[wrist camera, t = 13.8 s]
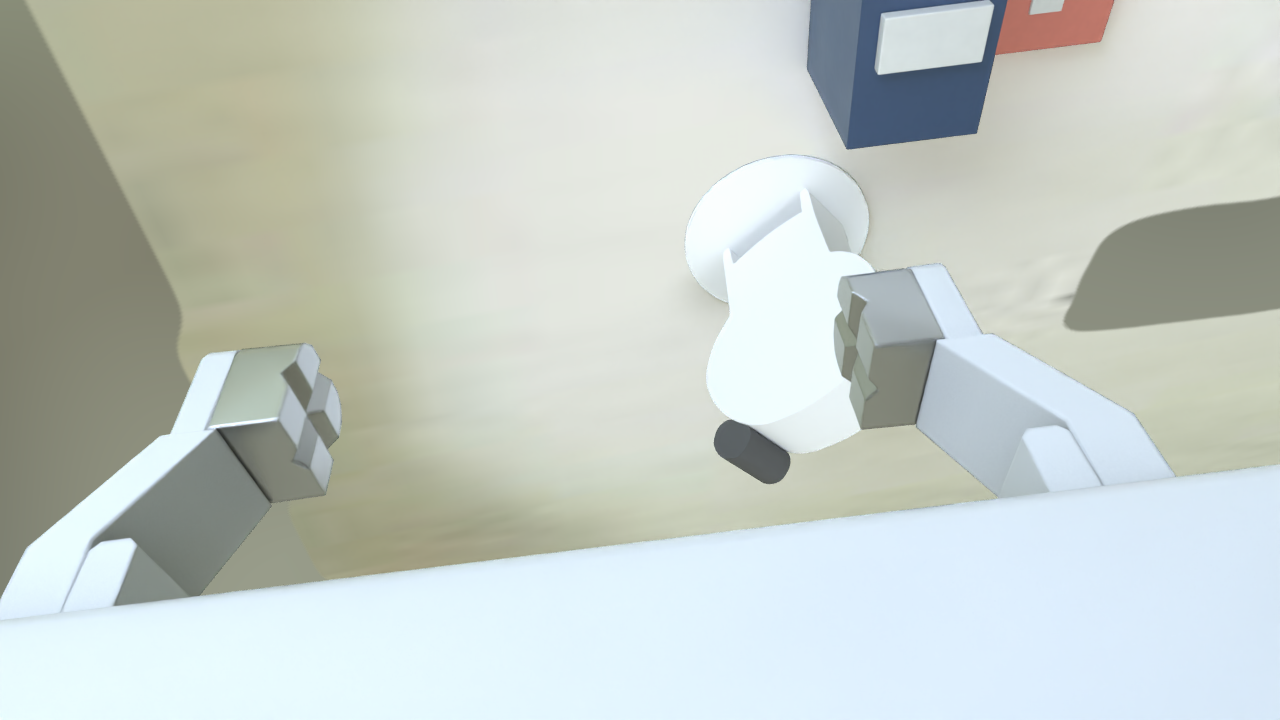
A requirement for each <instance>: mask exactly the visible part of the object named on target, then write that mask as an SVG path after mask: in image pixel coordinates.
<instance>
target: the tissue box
mask: <svg viewBox="0 0 1280 720" xmlns="http://www.w3.org/2000/svg"><path fill="white" fill-rule="evenodd" d="M1007 1H1008V0H811V12H810V28H809V44H808V61H807V70H808V72H809V74H810V76H811V78H812V80H813V82H814V84H815V86H816V88H817V90H818V92H819V94H820V96H821V98H822V100H823V102H824V104H825V106H826V108H827V110H828V112H829V114H830V116H831V118H832V120H833V122H834V125H835V127H836V129H837V131H838V133H839V135H840V137H841V139H842V141H843V143H844V145H845V147H846V149H856V148H864V147H872V146H880V145H888V144H896V143H904V142H912V141H920V140H928V139H936V138H944V137H952V136H960V135H968V134H976V133H977V130H978V126H979V122H980V117H981V113H982V109H983V105H984V100H985V96H986V92H987V87H988V83H989V79H990V74H991V70H992V66H993V61H994V57H995V53H996V48H997V44H998V40H999V35H1000V31H1001V27H1002V23H1003V18H1004V14H1005V10H1006V5H1007Z"/></svg>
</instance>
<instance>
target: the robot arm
mask: <svg viewBox="0 0 1280 720" xmlns="http://www.w3.org/2000/svg"><path fill="white" fill-rule="evenodd" d="M837 298H838V300H839V303H840V306H841V309H842V311H841V312H840V313H839V314H838V315H837V316H836V317H835V319H834V332H833V336H834V350H835V355H836V359H837V364H838V367H839V370H840V373H841V376H843V377H844V378H846V379H847V380H848V381H850V382H851V387H850V394H849V398H850V401H851V404H852V406H853V409H854V412H855V415H856V417H857V420H858V423H859V426H860V428H861V430H863V429H873V428H883V427H894V426H904V425H914V424H916V428H918V429H919V430H920V431H921V432H922V433H923V434H925V435H926V436H927V437H928V438H929V439H931V440H932V441H933V442H934V443H935V444H936V445H938V446H939V447H940V448H941V449H942V450H943V451H945V452H946V453H947V454H948V455H949V456H950V457H952V458H953V459H954V460H955V461H956V462H957V463H959V464H960V465H961V466H962V467H963V468H964V469H966V470H967V471H968V472H969V473H970V474H972V475H973V476H974V477H975V478H976V479H977V480H979V481H980V482H981V483H982V484H983V485H984V486H986V487H987V488H988V489H989V490H990V491H991V492H993V493H994V494H995V495H996V496H997V497H998V498H997V499H990V500H982V501H974V502H966V503H957V504H949V505H941V506H933V507H925V508H916V509H908V510H900V511H892V512H883V513H875V514H867V515H859V516H850V517H842V518H834V519H826V520H817V521H809V522H801V523H793V524H785V525H776V526H768V527H760V528H752V529H744V530H735V531H727V532H719V533H711V534H702V535H694V536H686V537H678V538H670V539H661V540H653V541H645V542H637V543H629V544H620V545H612V546H604V547H596V548H588V549H579V550H571V551H563V552H555V553H547V554H538V555H530V556H522V557H514V558H505V559H497V560H489V561H481V562H473V563H464V564H456V565H448V566H440V567H432V568H423V569H415V570H407V571H399V572H391V573H382V574H374V575H366V576H358V577H350V578H341V579H333V580H325V581H318V582H309V583H300V584H292V585H284V586H276V587H268V588H259V589H252V590H243V591H235V592H227V593H219V594H211V595H202V596H200V594H201V593H202V592H203V591H204V590H205V588H206V587H207V586H208V585H209V583H210V582H211V581H212V580H213V578H214V577H215V576H216V575H217V574H218V572H219V571H220V570H221V569H222V567H223V566H224V565H225V564H226V562H227V561H228V560H229V559H230V557H231V556H232V555H233V554H234V552H235V551H236V550H237V549H238V548H239V546H240V545H241V544H242V543H243V541H244V540H245V539H246V537H247V536H248V535H249V534H250V533H251V532H252V530H253V529H254V528H255V527H256V525H257V524H258V523H259V521H260V520H261V519H262V518H263V517H264V515H265V514H266V513H267V512H268V511H269V509H270V508H271V507H272V505H271V503H276V502H283V501H290V500H297V499H304V498H310V497H317V496H324V495H326V492H327V488H328V483H329V479H330V475H331V470H332V466H333V462H334V460H333V458H332V457H331V455H330V453H329V451H328V450H327V449H328V448H329V447H330V446H331V445H332V444H333V443H334V442H335V441H336V440H337V439H338V438H339V435H340V429H341V424H342V414H341V403H340V399H339V396H338V392H337V390H336V388H335V386H334V384H333V382H332V380H331V379H329V378H327V377H325V376H324V375H322V374H320V373H319V372H318V370H319V366H320V362H321V359H320V358H319V356H318V354H317V353H316V351H315V349H314V348H313V346H312V345H310V344H307V343H299V344H289V345H279V346H269V347H259V348H249V349H242V350H236V351H226V352H215V353H209V354H208V355H206V356H205V357H204V358H203V359H202V360H201V362H200V364H199V367H198V369H197V372H196V374H195V376H194V379H193V381H192V384H191V386H190V388H189V391H188V393H187V396H186V398H185V401H184V403H183V405H182V408H181V410H180V412H179V415H178V417H177V420H176V422H175V424H174V427H173V429H172V431H171V434H170V435H163V436H160V437H158V438H157V439H156V440H155V441H154V442H152V443H151V444H150V445H149V446H148V447H147V448H145V449H144V450H143V451H142V452H141V453H139V454H138V455H137V456H136V457H135V458H133V459H132V460H131V461H130V462H129V463H127V464H126V465H125V466H124V467H123V468H122V469H120V470H119V471H118V472H117V473H116V474H114V475H113V476H112V477H111V478H110V479H108V481H106V482H105V483H104V484H102V485H101V486H100V487H99V488H98V489H96V490H95V491H94V492H93V493H92V494H90V495H89V496H88V497H87V498H86V499H85V500H83V501H82V502H81V503H80V504H79V505H77V506H76V507H75V508H74V509H73V510H71V511H70V512H69V513H68V514H67V515H65V516H64V517H63V518H62V519H61V520H60V521H58V522H57V523H56V524H55V525H54V526H52V527H51V528H50V529H49V530H48V531H46V532H45V533H44V534H43V535H42V536H40V537H39V538H38V539H37V540H36V541H34V542H33V543H32V544H31V545H30V546H28V547H27V548H26V550H25V552H24V554H23V556H22V558H21V560H20V562H19V564H18V566H17V568H16V570H15V572H14V574H13V576H12V578H11V580H10V581H9V584H8V585H7V587H6V589H5V591H4V593H3V595H2V597H1V599H0V720H1280V464H1277V465H1269V466H1261V467H1253V468H1244V469H1236V470H1228V471H1220V472H1212V473H1203V474H1195V475H1187V476H1179V477H1176V475H1175V474H1174V472H1173V471H1172V469H1171V468H1170V466H1169V465H1168V463H1167V462H1166V460H1165V459H1164V457H1163V456H1162V454H1161V453H1160V451H1159V450H1158V448H1157V447H1156V445H1155V444H1154V442H1153V441H1152V439H1151V438H1150V436H1149V435H1148V433H1147V432H1146V430H1145V429H1144V427H1143V426H1142V425H1141V423H1140V422H1139V420H1138V419H1137V417H1136V416H1135V414H1134V413H1132V412H1131V411H1129V410H1127V409H1125V408H1124V407H1122V406H1120V405H1118V404H1117V403H1115V402H1113V401H1111V400H1109V399H1108V398H1106V397H1104V396H1102V395H1101V394H1099V393H1097V392H1095V391H1094V390H1092V389H1090V388H1088V387H1087V386H1085V385H1083V384H1081V383H1080V382H1078V381H1076V380H1074V379H1072V378H1071V377H1069V376H1067V375H1065V374H1064V373H1062V372H1060V371H1058V370H1057V369H1055V368H1053V367H1051V366H1050V365H1048V364H1046V363H1044V362H1043V361H1041V360H1039V359H1037V358H1035V357H1034V356H1032V355H1030V354H1028V353H1027V352H1025V351H1023V350H1021V349H1020V348H1018V347H1016V346H1014V345H1013V344H1011V343H1009V342H1007V341H1006V340H1004V339H1002V338H1000V337H998V336H997V335H995V334H993V333H992V334H983V333H982V331H981V329H980V328H979V326H978V324H977V322H976V320H975V319H974V317H973V315H972V313H971V312H970V310H969V308H968V306H967V304H966V303H965V301H964V299H963V297H962V295H961V294H960V292H959V290H958V288H957V286H956V285H955V283H954V281H953V279H952V278H951V276H950V274H949V272H948V270H947V269H946V267H945V266H944V265H942V264H941V263H934V264H927V265H920V266H913V267H907V268H906V269H905V268H902V269H895V270H887V271H879V272H872V273H864V274H857V275H849V276H841V279H840V281H839V285H838V292H837Z"/></svg>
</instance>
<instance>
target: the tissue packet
mask: <svg viewBox="0 0 1280 720" xmlns="http://www.w3.org/2000/svg"><path fill="white" fill-rule="evenodd" d="M1113 3H1114V0H1008V1H1007V5H1006V10H1005V14H1004V18H1003V23H1002V27H1001V31H1000V35H999V40H998V44H997V48H996V53H995V55H998V54H1006V53H1014V52H1022V51H1030V50H1038V49H1047V48H1055V47H1063V46H1071V45H1079V44H1087V43H1095V42H1100V41H1101V40H1102V37H1103V34H1104V30H1105V27H1106V24H1107V21H1108V18H1109V15H1110V12H1111V9H1112V6H1113Z"/></svg>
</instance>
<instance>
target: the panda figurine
mask: <svg viewBox="0 0 1280 720" xmlns="http://www.w3.org/2000/svg"><path fill="white" fill-rule="evenodd" d="M868 228H869V212H868V207H867V203H866V200H865V198H864V196H863V194H862V192H861V189H860V188H859V186H858V185H857V183H856V182H855V181H854V180H853V179H852V177H851V176H849V175H848V174H847V173H846V172H845V171H843V170H842V169H841V168H839V167H837V166H836V165H834V164H832V163H829V162H827V161H824V160H821V159H818V158H813V157H808V156H799V155H787V156H777V157H771V158H766V159H762V160H759V161H756V162H753V163H750V164H748V165H745V166H743V167H741V168H739V169H737V170H735V171H733V172H732V173H730V174H728V175H727V176H725V177H724V178H722V179H721V180H720V181H719V182H717V183H716V184H715V185H714V186H713V187H712V188H711V189H710V190H709V191H708V192H707V193H706V194H705V195H704V196H703V197H702V199H701V200H700V201H699V203H698V204H697V206H696V208H695V209H694V211H693V213H692V215H691V217H690V220H689V222H688V225H687V229H686V234H685V253H686V258H687V262H688V266H689V268H690V271H691V273H692V274H693V276H694V278H695V279H696V281H697V282H698V283H699V284H700V285H701V286H702V287H703V288H704V289H705V290H706V291H707V292H708V293H710V294H711V295H713V296H714V297H716V298H718V299H720V300H722V301H724V302H726V303H729V309H730V317H729V318H728V320H727V322H726V323H725V325H724V326H723V328H722V330H721V332H720V334H719V336H718V338H717V340H716V342H715V344H714V347H713V350H712V352H711V356H710V359H709V363H708V367H707V373H706V380H707V386H708V390H709V393H710V396H711V398H712V400H713V401H714V403H715V404H716V405H717V407H718V408H719V409H720V410H721V411H722V412H723V413H724V414H725V415H727V416H728V417H729V418H731V419H732V420H727V421H725V422H724V423H723V424H721V425H720V427H719V428H718V430H717V432H716V434H715V438H714V447H715V449H716V451H717V453H718V454H719V455H720V456H721V457H722V458H724V459H726V460H727V461H729V462H730V463H732V464H734V465H735V466H737V467H738V468H740V469H742V470H743V471H745V472H747V473H748V474H750V475H751V476H753V477H755V478H756V479H758V480H759V481H761V482H763V483H766V484H774V483H777V482H779V481H781V480H782V479H783V478H784V476H785V475H786V473H787V471H788V469H789V466H790V456H789V454H788V453H787V452H790V453H810V452H814V451H817V450H820V449H823V448H826V447H829V446H831V445H833V444H836V443H838V442H840V441H842V440H844V439H846V438H848V437H850V436H852V435H853V434H855V433H857V432H858V431H860V430H861V428H860V426H859V423H858V420H857V417H856V415H855V412H854V409H853V406H852V404H851V401H850V398H849V394H850V387H851V382H850V381H848V380H847V379H846V378H844V377H843V376H841V373H840V370H839V367H838V364H837V359H836V355H835V350H834V336H833V332H834V319H835V317H836V316H837V315H838V314H839V313H840V312H841V311H842V309H841V306H840V303H839V300H838V298H837V292H838V285H839V281H840V279H841V276H849V275H857V274H864V273H872V272H877V271H876V270H875V269H874V268H873V267H872V266H871V265H870V264H869V263H868V262H867V261H866V260H864V259H863V258H861V257H860V256H859V254H860V252H861V250H862V248H863V246H864V243H865V240H866V237H867V233H868Z"/></svg>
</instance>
